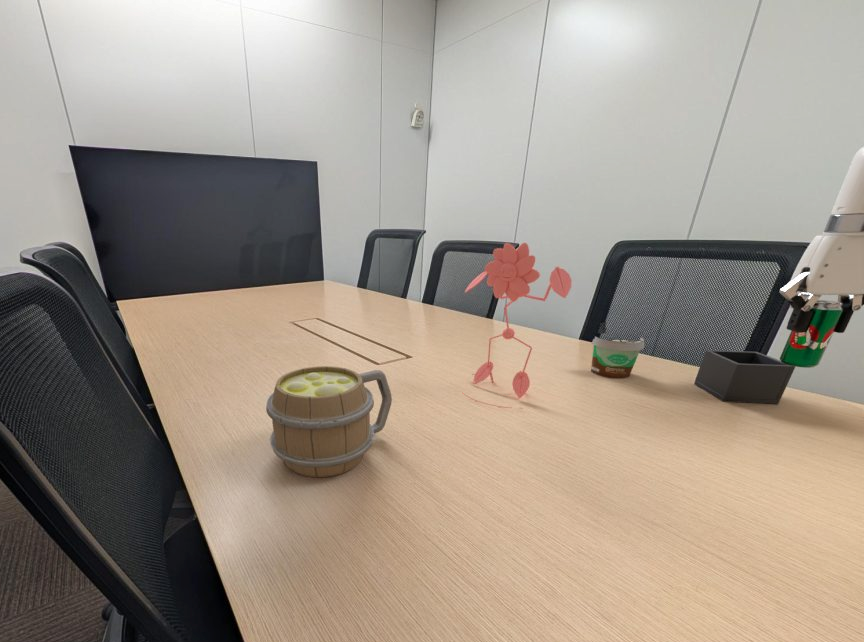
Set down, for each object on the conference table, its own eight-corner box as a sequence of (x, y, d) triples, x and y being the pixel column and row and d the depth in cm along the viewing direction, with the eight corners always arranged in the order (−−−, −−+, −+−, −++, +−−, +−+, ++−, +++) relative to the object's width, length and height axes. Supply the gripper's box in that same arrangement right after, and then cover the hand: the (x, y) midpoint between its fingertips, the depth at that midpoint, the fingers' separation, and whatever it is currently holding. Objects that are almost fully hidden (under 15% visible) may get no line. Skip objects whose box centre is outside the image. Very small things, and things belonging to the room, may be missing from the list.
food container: (594, 379, 100) (603, 342, 96) (585, 371, 105) (593, 336, 101) (645, 380, 98) (656, 343, 94) (633, 372, 103) (643, 337, 99)
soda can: (805, 360, 74) (832, 299, 69) (824, 369, 70) (855, 304, 65) (772, 359, 76) (796, 299, 71) (789, 367, 71) (816, 304, 67)
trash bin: (742, 386, 93) (757, 351, 89) (778, 404, 83) (795, 366, 80) (693, 384, 95) (705, 350, 91) (722, 401, 85) (737, 364, 82)
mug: (420, 451, 69) (424, 376, 63) (297, 500, 58) (288, 413, 52) (365, 414, 84) (364, 350, 78) (259, 446, 72) (248, 374, 67)
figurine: (468, 372, 106) (482, 241, 93) (559, 402, 87) (593, 242, 74) (431, 385, 98) (440, 243, 85) (522, 421, 79) (553, 245, 65)
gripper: (899, 223, 65) (850, 326, 71) (780, 228, 68) (744, 326, 75) (953, 222, 58) (893, 336, 65) (818, 228, 61) (775, 336, 68)
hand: (814, 330), depth 70 cm, fingers closed on soda can, 5 cm apart
